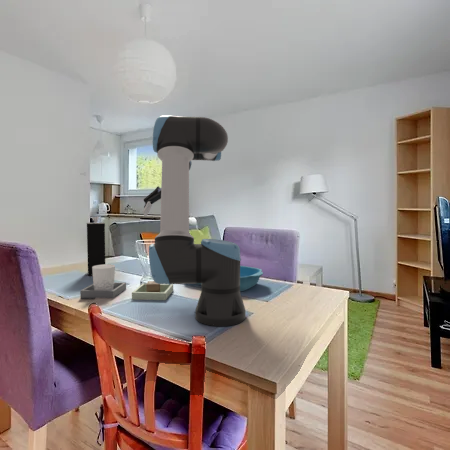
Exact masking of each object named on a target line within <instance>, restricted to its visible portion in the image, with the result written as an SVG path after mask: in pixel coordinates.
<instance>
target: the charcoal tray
mask: <svg viewBox="0 0 450 450" xmlns="http://www.w3.org/2000/svg"><path fill="white" fill-rule="evenodd" d="M126 289H127V283H126V282H115V281H114V290H112V291H106V290H94V285H93V283H92V284H89V285H88V286H87V287H84V288H82V289H80V292H79V293H80V300H95V299H97V298H99V299H115V298H116V297H117V296H118V295H119V294H121V293H122V292H124V291H125V290H126Z"/></svg>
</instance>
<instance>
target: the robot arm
mask: <svg viewBox="0 0 450 450" xmlns="http://www.w3.org/2000/svg"><path fill="white" fill-rule="evenodd" d="M152 132H153V133H152V150H153V151H154V152H155V153H157V158H158V159H160V161H161V181H160V182H161V187H160V186H159V185H158V186H156V188H155V189H154V190H153V191H152V192H150V193H149V194H148V195H147V196H146V197H144V198H143V202H144V206H143V210H142V214H143V215H144V217H147V216H148V215H149V212H150V210H151V209H152V207H153V204H155V203H156V202H158V201H159V200H160V227H159V228H160V231H159V233H158V234H157V235H156V236H155V237H154V243H151V244H149V246H148V259H149V267H150V273H151V278H152V281H154V282H156V283H157V284H169V285H171V284H173V285H188V284H190V285H191V284H193V285H197V284H196V283H201V285H200V286H201V287H200V288H201V290H200V295H199V297H198V301H197V305H196V308H195V311H194V313H195V320H196V321H198V322H199V323H201V324H203V325H207V326H212V327H230V326H234V325H239V324H240V323H243V322H244V321H245V320H246V317H247V316H246V313H247V312H246V307H245V305H244V300H243V298H242V297H243V296H242V294H241V291H240V266H241V261H242V258H241V248H240V246H239V244H237V243H235V242H232V241H230V240H229V241H228V240H222V239H215V238H202V239H201V241H200V243H195V238H194V236H193V235H192V234H190V170H191V168H192V161H210V162H211V161H212V162H216V161H220V160H221V159H222V152H223V151H224V149H226V147H227V145H228V142H229V136H228V133H227V130H226V129H225V127H223V125H222V124H220V123H219V122H217V121H215V120H214V119H212V118H210V117H209V118H208V117H206V116H205V117H204V116H178V115H177V116H176V115H172V114H171V115H170V114H169V115H160V116H158V117H157V118H156V119H155V122H154V125H153V131H152Z"/></svg>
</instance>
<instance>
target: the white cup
mask: <svg viewBox="0 0 450 450" xmlns="http://www.w3.org/2000/svg"><path fill="white" fill-rule="evenodd" d="M115 271H116V265H115V264H107V263H105V264H103V265H96V266H93V267H92V272H93V275H92V282H93V283H92V284H93V285H94V290H106V291H112V290H114V282H115V277H116V276H115V274H116V272H115Z"/></svg>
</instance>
